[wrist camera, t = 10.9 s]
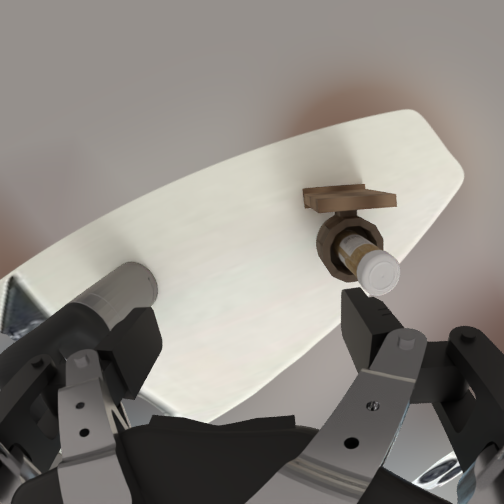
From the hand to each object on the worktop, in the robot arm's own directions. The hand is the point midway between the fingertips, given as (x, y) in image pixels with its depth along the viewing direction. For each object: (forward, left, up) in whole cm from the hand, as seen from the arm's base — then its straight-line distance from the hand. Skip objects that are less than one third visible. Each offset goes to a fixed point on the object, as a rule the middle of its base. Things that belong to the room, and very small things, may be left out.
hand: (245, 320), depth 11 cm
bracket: (+12, -3, -33) cm, 35 cm away
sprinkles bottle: (+12, -5, -28) cm, 31 cm away
